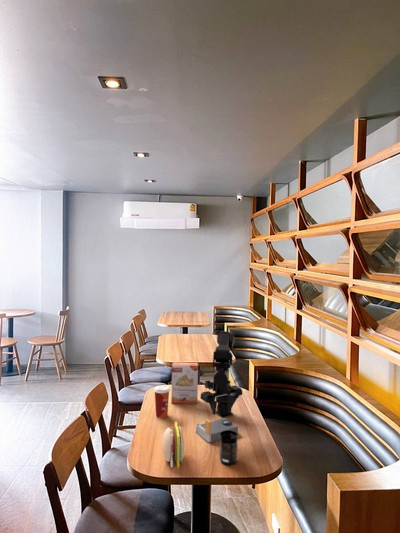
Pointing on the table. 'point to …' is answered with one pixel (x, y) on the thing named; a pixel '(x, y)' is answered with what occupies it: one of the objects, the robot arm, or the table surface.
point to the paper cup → (161, 400)
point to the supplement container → (228, 447)
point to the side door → (205, 430)
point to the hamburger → (173, 445)
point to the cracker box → (184, 383)
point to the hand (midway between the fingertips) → (221, 413)
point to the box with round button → (220, 428)
